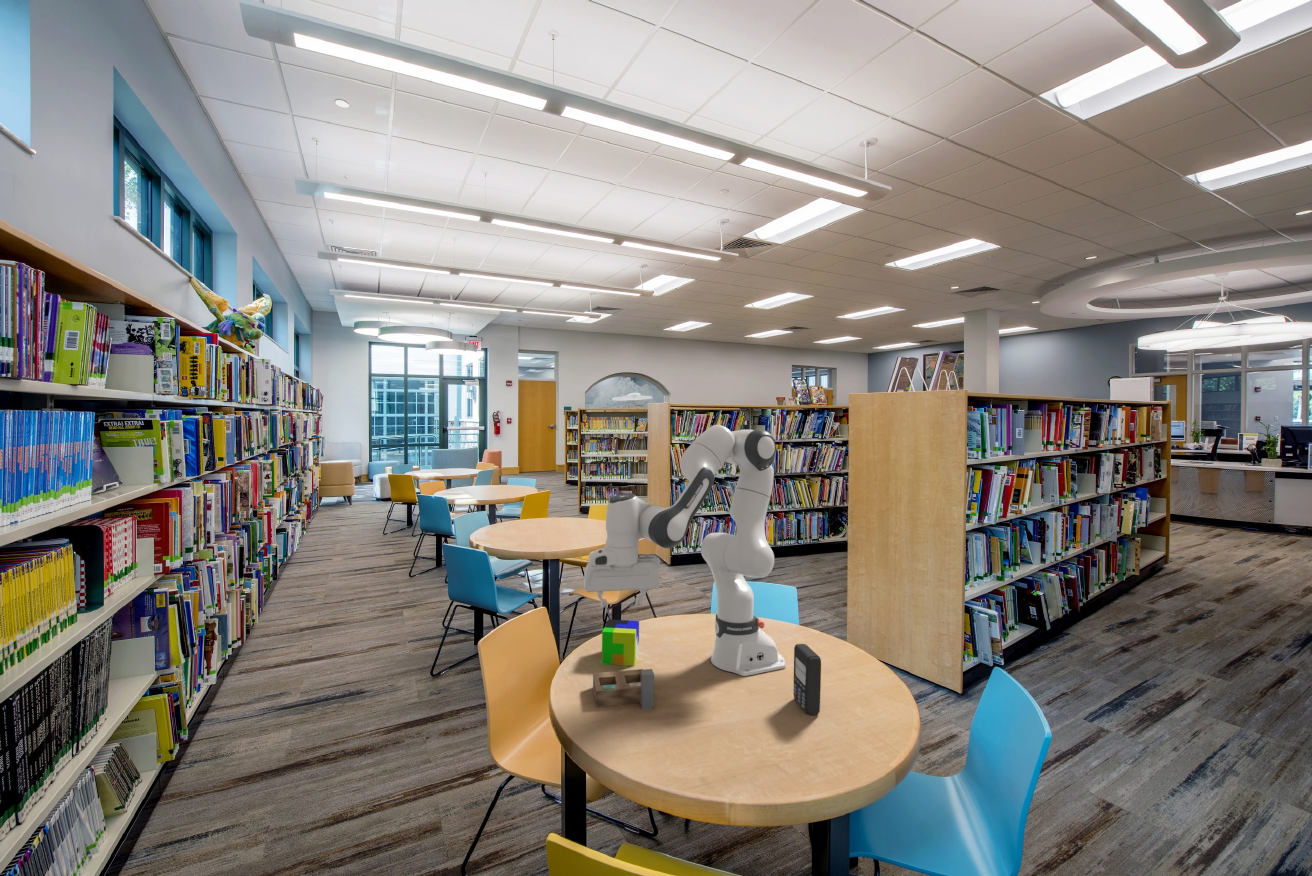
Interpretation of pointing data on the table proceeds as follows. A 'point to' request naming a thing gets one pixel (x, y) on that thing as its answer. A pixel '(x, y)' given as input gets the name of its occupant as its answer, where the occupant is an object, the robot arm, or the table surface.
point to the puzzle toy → (620, 642)
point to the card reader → (807, 679)
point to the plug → (647, 689)
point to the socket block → (617, 687)
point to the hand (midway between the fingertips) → (621, 605)
